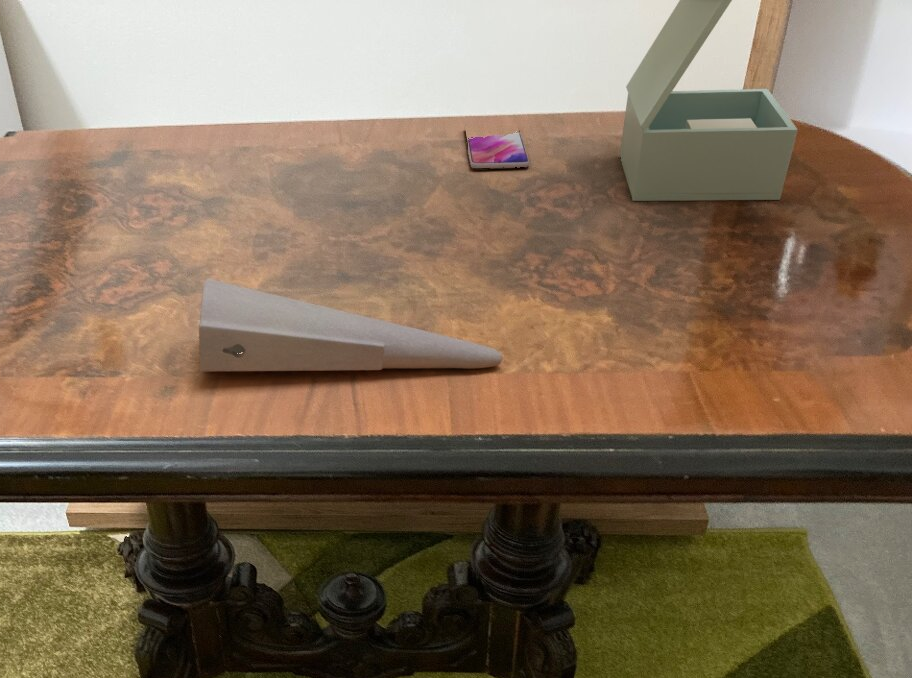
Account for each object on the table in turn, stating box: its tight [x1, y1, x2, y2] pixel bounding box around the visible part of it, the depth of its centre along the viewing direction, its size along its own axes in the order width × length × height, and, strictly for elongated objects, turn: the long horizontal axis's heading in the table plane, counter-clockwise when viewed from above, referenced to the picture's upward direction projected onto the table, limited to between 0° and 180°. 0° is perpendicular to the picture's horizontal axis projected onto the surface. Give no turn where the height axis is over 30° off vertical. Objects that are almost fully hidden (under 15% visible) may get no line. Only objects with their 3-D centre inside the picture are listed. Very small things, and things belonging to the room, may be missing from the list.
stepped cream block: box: [685, 118, 757, 129], centre depth 106 cm, size 11×5×5 cm, turn 82°
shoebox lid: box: [625, 0, 733, 129], centre depth 98 cm, size 16×14×5 cm
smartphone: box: [467, 131, 530, 169], centre depth 119 cm, size 7×1×15 cm
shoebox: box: [619, 88, 799, 202], centre depth 105 cm, size 16×14×8 cm
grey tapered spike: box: [198, 278, 503, 372], centre depth 81 cm, size 8×9×26 cm
